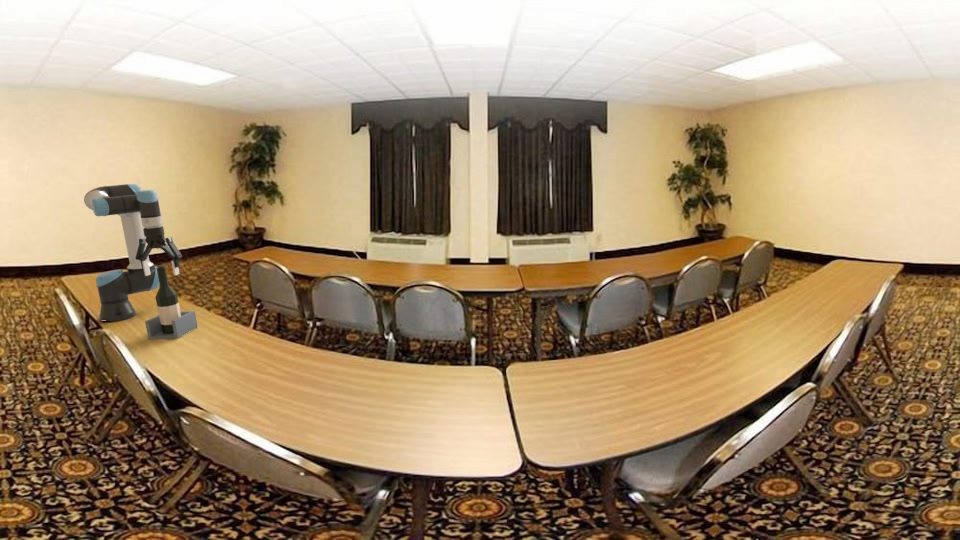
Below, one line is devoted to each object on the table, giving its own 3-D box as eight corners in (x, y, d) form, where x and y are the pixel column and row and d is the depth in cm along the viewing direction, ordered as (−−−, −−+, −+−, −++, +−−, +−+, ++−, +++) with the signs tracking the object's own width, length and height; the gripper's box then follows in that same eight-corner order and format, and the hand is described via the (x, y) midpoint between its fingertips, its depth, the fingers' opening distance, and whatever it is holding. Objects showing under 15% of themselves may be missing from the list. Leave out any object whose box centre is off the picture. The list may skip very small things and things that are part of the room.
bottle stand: (169, 328, 253) (166, 311, 251) (197, 327, 251) (194, 310, 249) (148, 338, 239) (144, 321, 237) (178, 338, 237) (174, 321, 236)
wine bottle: (174, 334, 240) (161, 267, 233) (158, 334, 242) (144, 267, 235) (187, 327, 248) (175, 263, 241) (172, 327, 250) (159, 263, 243)
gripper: (119, 229, 232) (129, 277, 237) (174, 227, 229) (183, 276, 234) (132, 226, 239) (142, 273, 244) (185, 224, 236) (194, 272, 241)
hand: (162, 275), depth 239 cm, fingers open, 13 cm apart
